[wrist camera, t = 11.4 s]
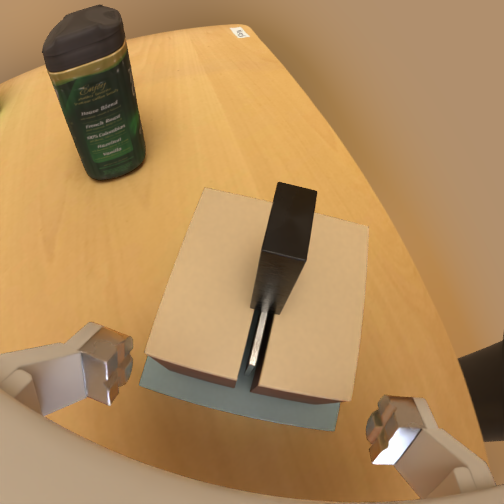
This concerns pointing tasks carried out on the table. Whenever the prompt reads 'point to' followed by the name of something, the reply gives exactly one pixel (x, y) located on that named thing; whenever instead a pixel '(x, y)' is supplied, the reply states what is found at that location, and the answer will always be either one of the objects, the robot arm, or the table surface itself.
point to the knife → (281, 256)
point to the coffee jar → (96, 90)
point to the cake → (245, 318)
